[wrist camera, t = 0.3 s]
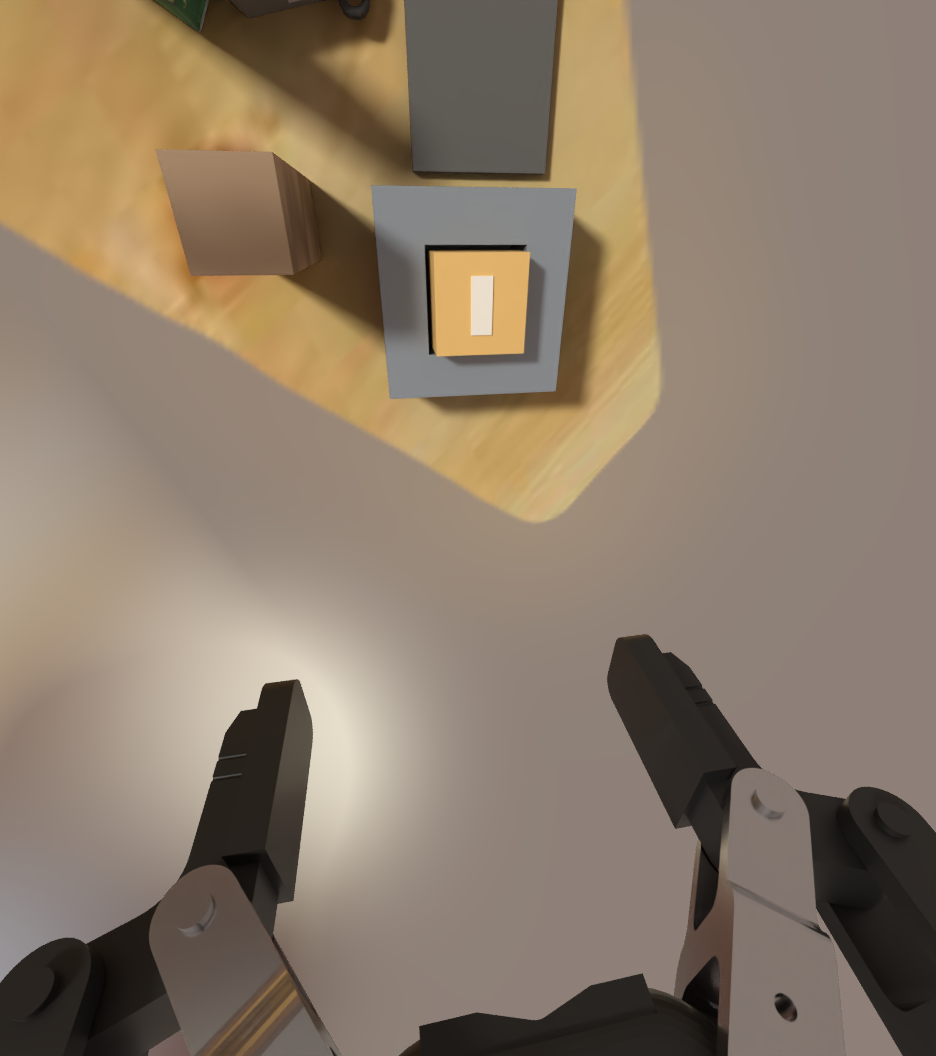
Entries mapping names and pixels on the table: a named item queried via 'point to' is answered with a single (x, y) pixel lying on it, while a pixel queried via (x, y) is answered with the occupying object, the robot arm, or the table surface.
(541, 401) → the table surface
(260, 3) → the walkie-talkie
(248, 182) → the tall cardboard-brown rectangular prism
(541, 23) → the mat
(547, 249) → the box
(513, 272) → the button
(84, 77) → the table surface
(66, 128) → the table surface
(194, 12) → the coffee box
